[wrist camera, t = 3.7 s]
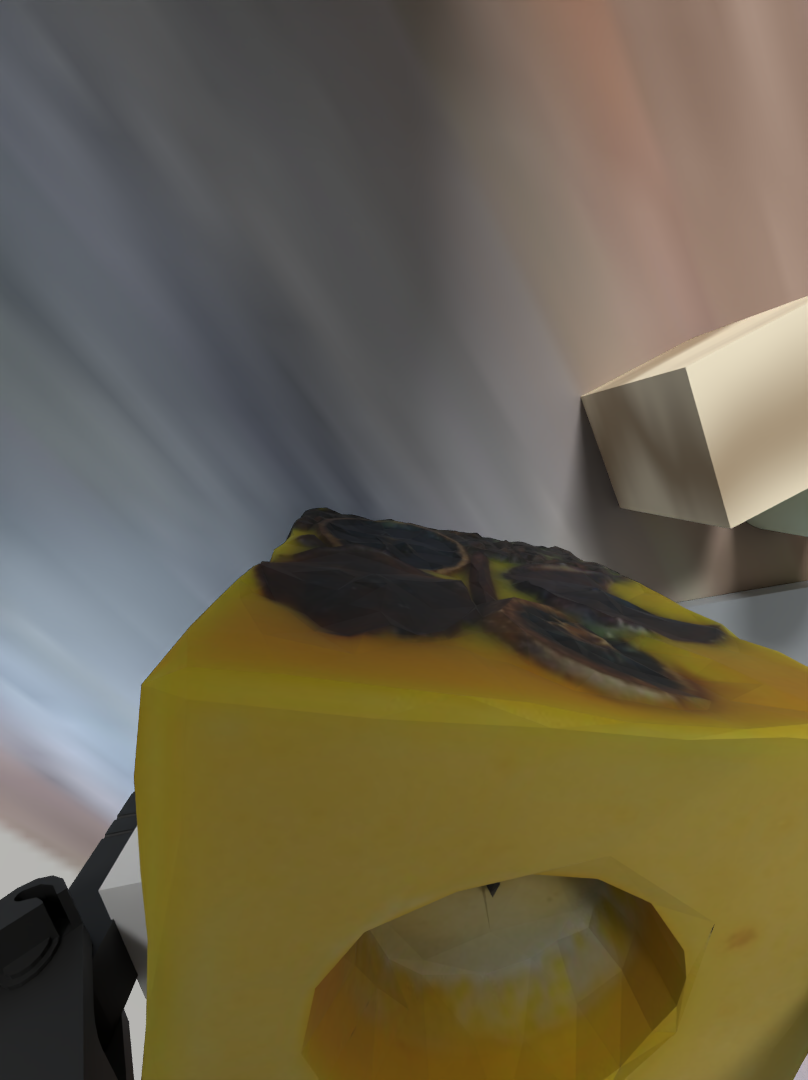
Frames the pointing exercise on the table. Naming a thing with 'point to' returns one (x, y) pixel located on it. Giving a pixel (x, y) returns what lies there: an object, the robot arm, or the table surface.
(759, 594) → the coaster
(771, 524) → the sage capsule
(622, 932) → the candle
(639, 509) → the maple block
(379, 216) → the table surface
